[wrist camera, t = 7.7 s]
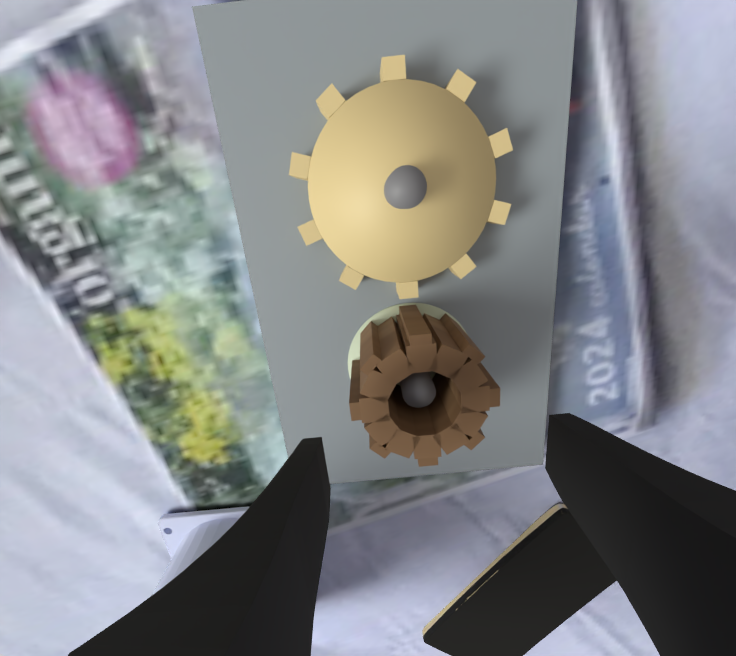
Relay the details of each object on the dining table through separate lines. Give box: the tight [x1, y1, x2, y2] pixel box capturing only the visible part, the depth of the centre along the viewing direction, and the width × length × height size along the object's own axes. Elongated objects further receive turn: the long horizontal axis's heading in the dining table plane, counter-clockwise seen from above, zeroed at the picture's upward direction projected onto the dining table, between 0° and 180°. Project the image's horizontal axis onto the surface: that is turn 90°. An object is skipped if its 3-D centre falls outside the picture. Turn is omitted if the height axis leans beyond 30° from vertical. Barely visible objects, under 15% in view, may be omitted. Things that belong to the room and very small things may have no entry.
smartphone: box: [422, 504, 617, 656], centre depth 24 cm, size 7×1×15 cm
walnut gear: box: [349, 305, 500, 467], centre depth 15 cm, size 6×6×4 cm
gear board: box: [192, 0, 577, 484], centre depth 15 cm, size 22×14×4 cm, turn 6°
